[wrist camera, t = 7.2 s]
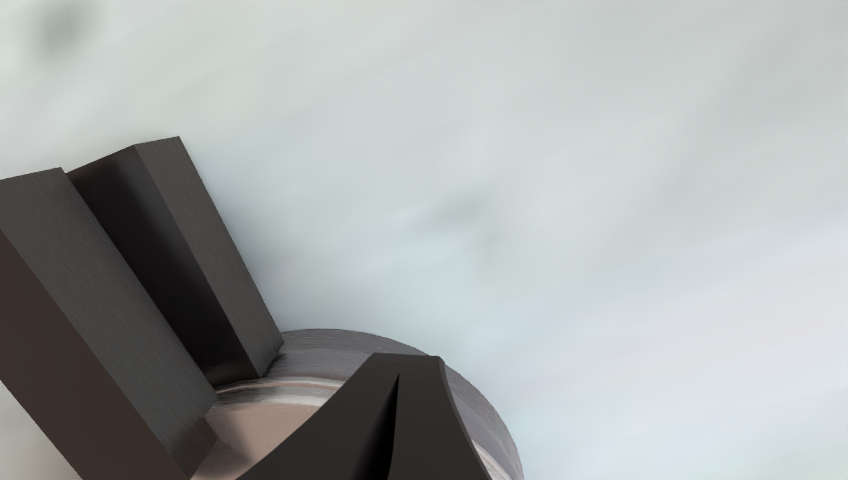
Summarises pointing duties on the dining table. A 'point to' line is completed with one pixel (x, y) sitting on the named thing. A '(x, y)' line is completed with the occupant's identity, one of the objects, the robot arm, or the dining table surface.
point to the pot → (236, 291)
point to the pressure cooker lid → (116, 355)
